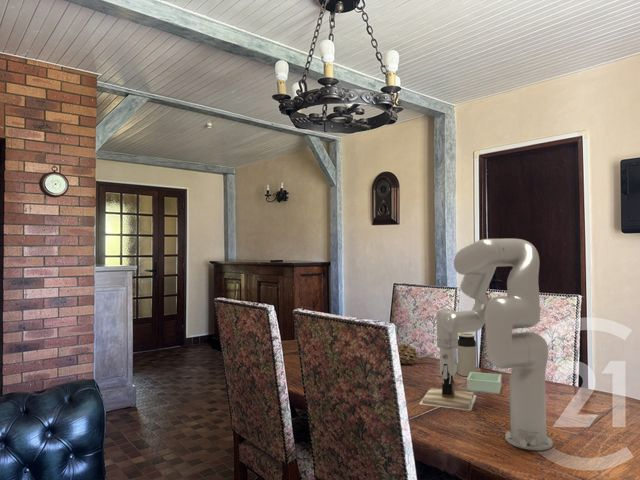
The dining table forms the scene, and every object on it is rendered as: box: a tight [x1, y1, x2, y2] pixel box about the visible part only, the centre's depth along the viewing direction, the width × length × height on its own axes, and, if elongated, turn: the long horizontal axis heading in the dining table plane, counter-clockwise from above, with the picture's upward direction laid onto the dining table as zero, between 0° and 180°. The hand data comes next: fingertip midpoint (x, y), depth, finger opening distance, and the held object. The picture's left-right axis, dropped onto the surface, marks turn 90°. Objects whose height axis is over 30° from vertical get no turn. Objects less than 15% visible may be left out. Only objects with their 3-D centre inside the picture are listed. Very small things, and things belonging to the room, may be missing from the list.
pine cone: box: [397, 343, 436, 365], centre depth 226 cm, size 22×10×10 cm, turn 90°
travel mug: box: [456, 332, 478, 378], centre depth 206 cm, size 8×8×18 cm
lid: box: [421, 381, 475, 409], centre depth 170 cm, size 16×16×6 cm
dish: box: [466, 371, 502, 395], centre depth 184 cm, size 12×12×5 cm
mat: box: [418, 389, 477, 412], centre depth 170 cm, size 18×18×1 cm
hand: (448, 392), depth 170 cm, fingers closed on lid, 4 cm apart
